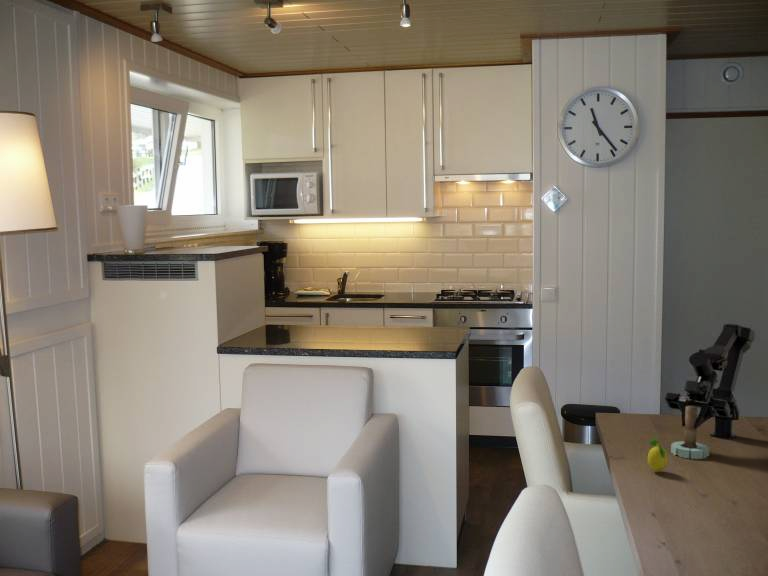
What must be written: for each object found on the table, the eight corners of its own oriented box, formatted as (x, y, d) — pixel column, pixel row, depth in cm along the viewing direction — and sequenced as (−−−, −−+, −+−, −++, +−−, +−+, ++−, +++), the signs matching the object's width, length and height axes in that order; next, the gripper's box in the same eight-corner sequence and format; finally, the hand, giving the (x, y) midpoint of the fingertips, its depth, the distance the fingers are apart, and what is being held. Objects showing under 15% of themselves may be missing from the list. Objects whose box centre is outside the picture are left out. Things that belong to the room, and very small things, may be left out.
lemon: (649, 467, 242) (650, 433, 241) (669, 470, 239) (671, 436, 238) (643, 473, 236) (644, 439, 235) (664, 477, 233) (665, 442, 232)
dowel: (689, 446, 257) (690, 405, 256) (698, 449, 254) (699, 407, 253) (681, 448, 256) (683, 406, 254) (690, 450, 253) (691, 409, 252)
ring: (679, 447, 262) (680, 439, 262) (713, 453, 256) (713, 445, 255) (666, 454, 255) (666, 446, 254) (700, 461, 248) (700, 452, 248)
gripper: (668, 366, 262) (652, 407, 255) (728, 374, 250) (713, 417, 242) (677, 387, 269) (662, 427, 261) (736, 395, 256) (722, 438, 249)
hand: (689, 427), depth 253 cm, fingers closed on dowel, 3 cm apart
